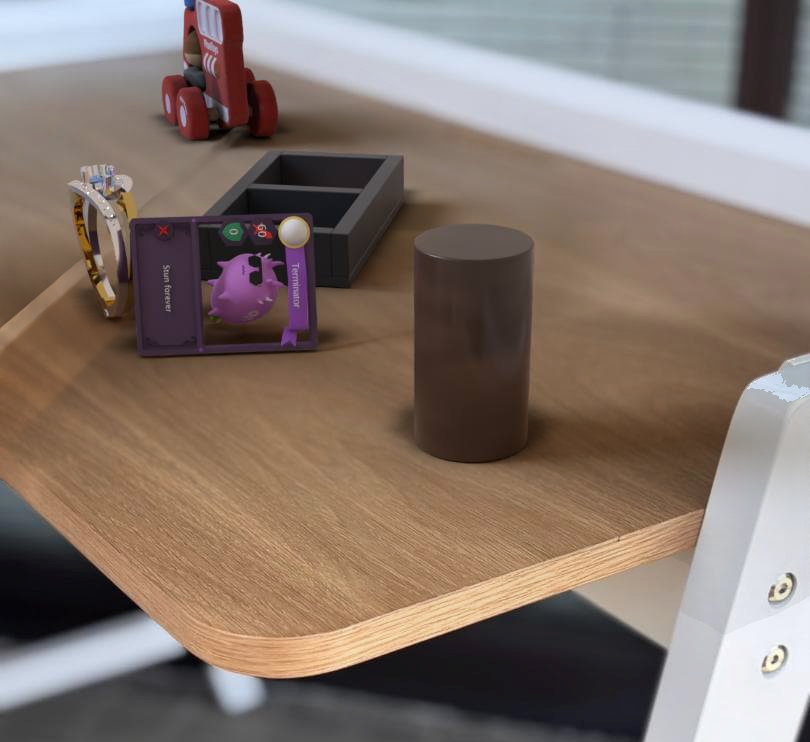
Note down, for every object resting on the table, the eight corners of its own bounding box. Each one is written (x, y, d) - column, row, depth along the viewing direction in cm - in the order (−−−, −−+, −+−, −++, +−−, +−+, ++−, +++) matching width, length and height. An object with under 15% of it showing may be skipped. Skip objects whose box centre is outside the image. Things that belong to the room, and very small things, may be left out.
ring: (68, 300, 82) (51, 154, 78) (125, 291, 83) (111, 147, 80) (100, 342, 77) (83, 188, 73) (160, 333, 78) (147, 180, 74)
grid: (194, 279, 85) (190, 226, 84) (271, 196, 100) (269, 149, 98) (349, 288, 84) (348, 234, 82) (404, 202, 98) (403, 155, 97)
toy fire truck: (240, 110, 122) (232, -26, 117) (286, 145, 111) (280, -1, 106) (156, 118, 119) (144, -20, 114) (195, 155, 109) (184, 5, 104)
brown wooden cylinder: (404, 458, 65) (404, 256, 60) (424, 411, 69) (424, 220, 65) (520, 467, 64) (527, 263, 59) (532, 419, 68) (540, 226, 64)
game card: (127, 217, 73) (312, 211, 74) (137, 222, 78) (310, 217, 79) (136, 356, 74) (318, 349, 75) (145, 352, 79) (316, 346, 80)
